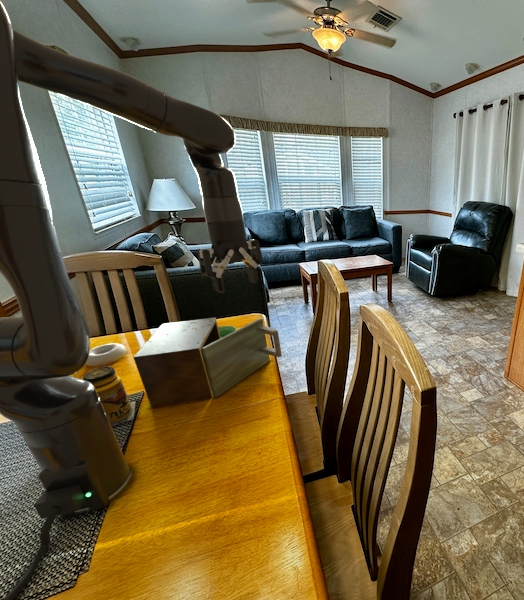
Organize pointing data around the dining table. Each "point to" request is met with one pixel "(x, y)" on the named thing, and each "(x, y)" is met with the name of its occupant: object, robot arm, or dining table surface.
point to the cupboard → (177, 362)
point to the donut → (105, 354)
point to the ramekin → (226, 330)
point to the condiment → (111, 394)
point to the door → (239, 355)
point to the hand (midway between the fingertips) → (238, 287)
